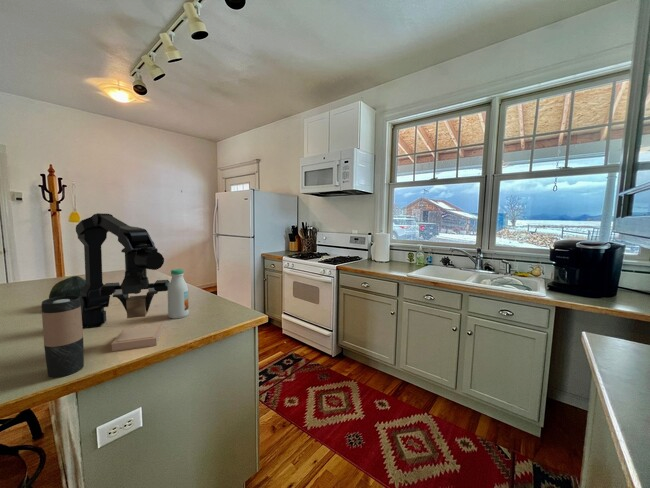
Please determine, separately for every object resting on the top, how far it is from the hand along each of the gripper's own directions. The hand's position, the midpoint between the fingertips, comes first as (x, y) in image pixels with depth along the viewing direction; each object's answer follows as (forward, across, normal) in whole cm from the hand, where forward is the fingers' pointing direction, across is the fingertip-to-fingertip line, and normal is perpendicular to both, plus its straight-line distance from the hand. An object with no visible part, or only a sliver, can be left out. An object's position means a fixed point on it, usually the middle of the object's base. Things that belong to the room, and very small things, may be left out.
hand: (137, 311), depth 91 cm
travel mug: (+10, -14, -14) cm, 22 cm away
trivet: (+10, 0, 0) cm, 10 cm away
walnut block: (+1, 0, 0) cm, 1 cm away
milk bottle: (+10, +10, +21) cm, 25 cm away
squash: (+10, -35, +49) cm, 61 cm away
